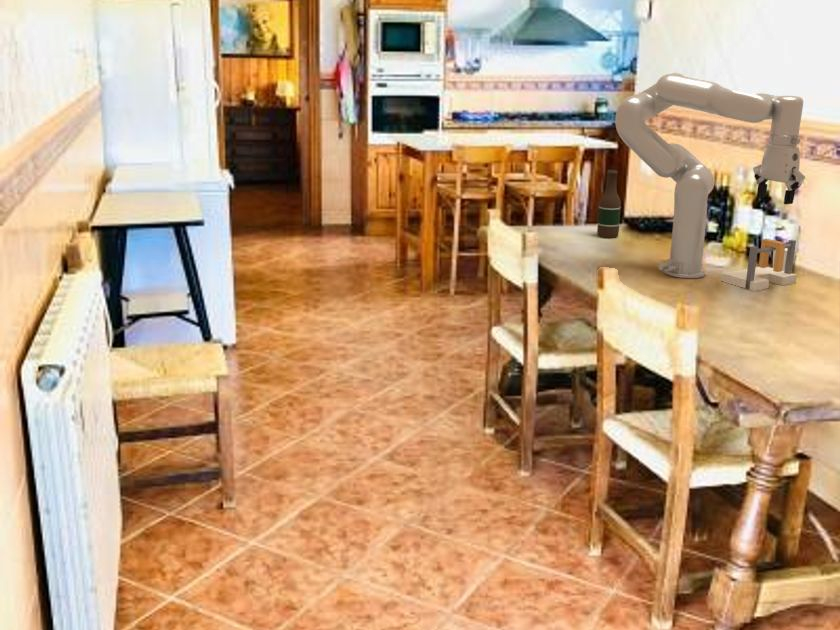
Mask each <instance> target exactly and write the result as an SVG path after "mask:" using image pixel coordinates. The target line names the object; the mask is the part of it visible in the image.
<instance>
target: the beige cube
mask: <svg viewBox="0 0 840 630" xmlns="http://www.w3.org/2000/svg"><path fill="white" fill-rule="evenodd" d="M797 251H798V250H797V247H795V254H794V261H793V264H794V263H795V259H796V255H797ZM775 252H776V250H774V251H772V254H773V255H772V256H773V257H772V268H774V260H775ZM786 256H787V248H785V252H784V260H783V268H782V271H785V263H786Z"/></svg>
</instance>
